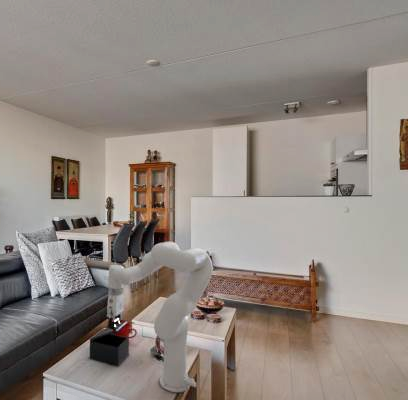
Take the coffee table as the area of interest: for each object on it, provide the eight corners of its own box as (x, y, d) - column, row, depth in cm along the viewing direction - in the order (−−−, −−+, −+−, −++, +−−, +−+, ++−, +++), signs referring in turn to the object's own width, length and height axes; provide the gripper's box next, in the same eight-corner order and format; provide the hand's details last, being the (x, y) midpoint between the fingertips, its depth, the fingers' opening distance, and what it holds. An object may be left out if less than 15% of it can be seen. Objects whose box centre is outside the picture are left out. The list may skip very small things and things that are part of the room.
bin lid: (127, 322, 158) (123, 313, 159) (116, 331, 147) (112, 321, 148) (102, 331, 165) (98, 322, 166) (90, 340, 153) (86, 331, 154)
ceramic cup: (132, 351, 162) (132, 332, 162) (102, 344, 169) (103, 326, 169) (140, 341, 173) (140, 323, 173) (112, 335, 180) (112, 318, 180)
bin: (128, 355, 157) (128, 337, 157) (118, 366, 146) (118, 348, 146) (101, 348, 165) (102, 331, 165) (89, 358, 153) (89, 340, 153)
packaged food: (175, 352, 160) (175, 343, 160) (164, 362, 151) (164, 352, 151) (160, 348, 166) (160, 338, 166) (149, 356, 156) (149, 347, 156)
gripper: (114, 296, 145) (113, 334, 145) (129, 287, 160) (128, 321, 160) (100, 293, 148) (99, 331, 148) (116, 284, 163) (115, 318, 164)
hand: (114, 325), depth 154 cm, fingers closed on bin lid, 6 cm apart
